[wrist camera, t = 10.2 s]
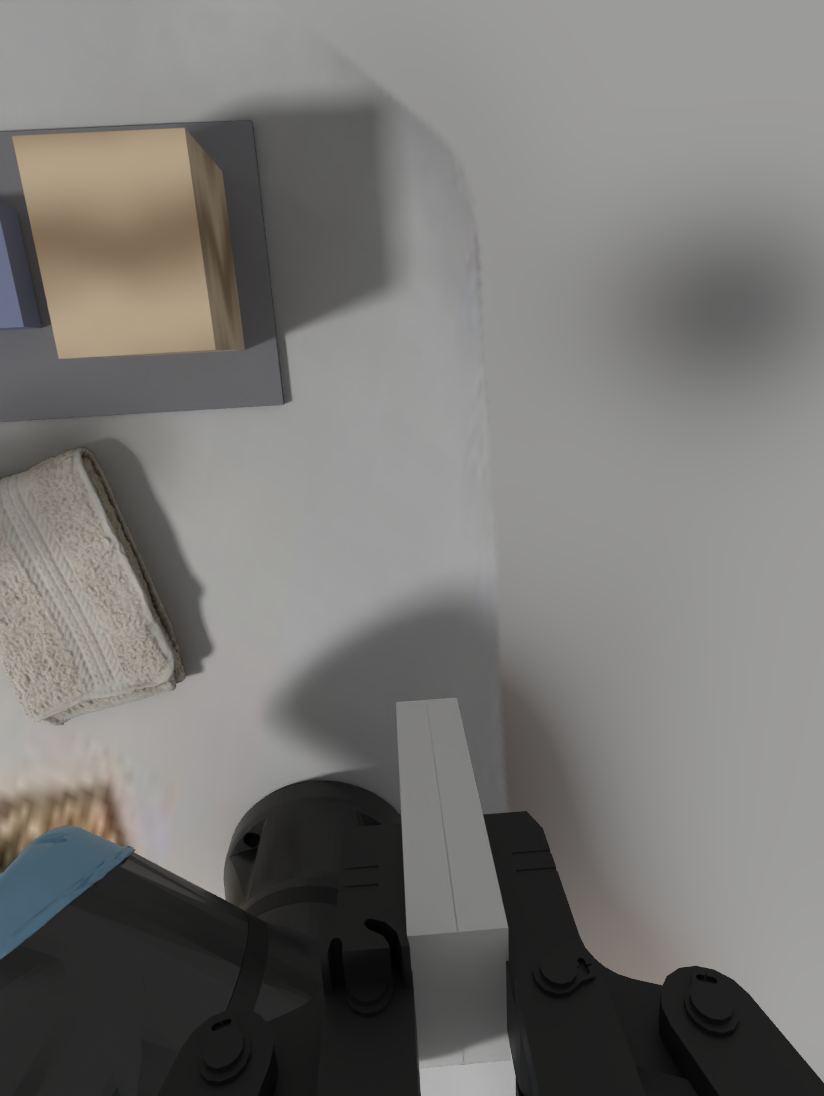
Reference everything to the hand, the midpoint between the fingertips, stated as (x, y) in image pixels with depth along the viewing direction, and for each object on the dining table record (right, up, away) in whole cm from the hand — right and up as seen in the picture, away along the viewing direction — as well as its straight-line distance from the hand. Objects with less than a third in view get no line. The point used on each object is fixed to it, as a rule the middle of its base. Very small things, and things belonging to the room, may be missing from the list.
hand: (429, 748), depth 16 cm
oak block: (-15, +22, +23) cm, 35 cm away
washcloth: (-25, +2, +30) cm, 39 cm away
